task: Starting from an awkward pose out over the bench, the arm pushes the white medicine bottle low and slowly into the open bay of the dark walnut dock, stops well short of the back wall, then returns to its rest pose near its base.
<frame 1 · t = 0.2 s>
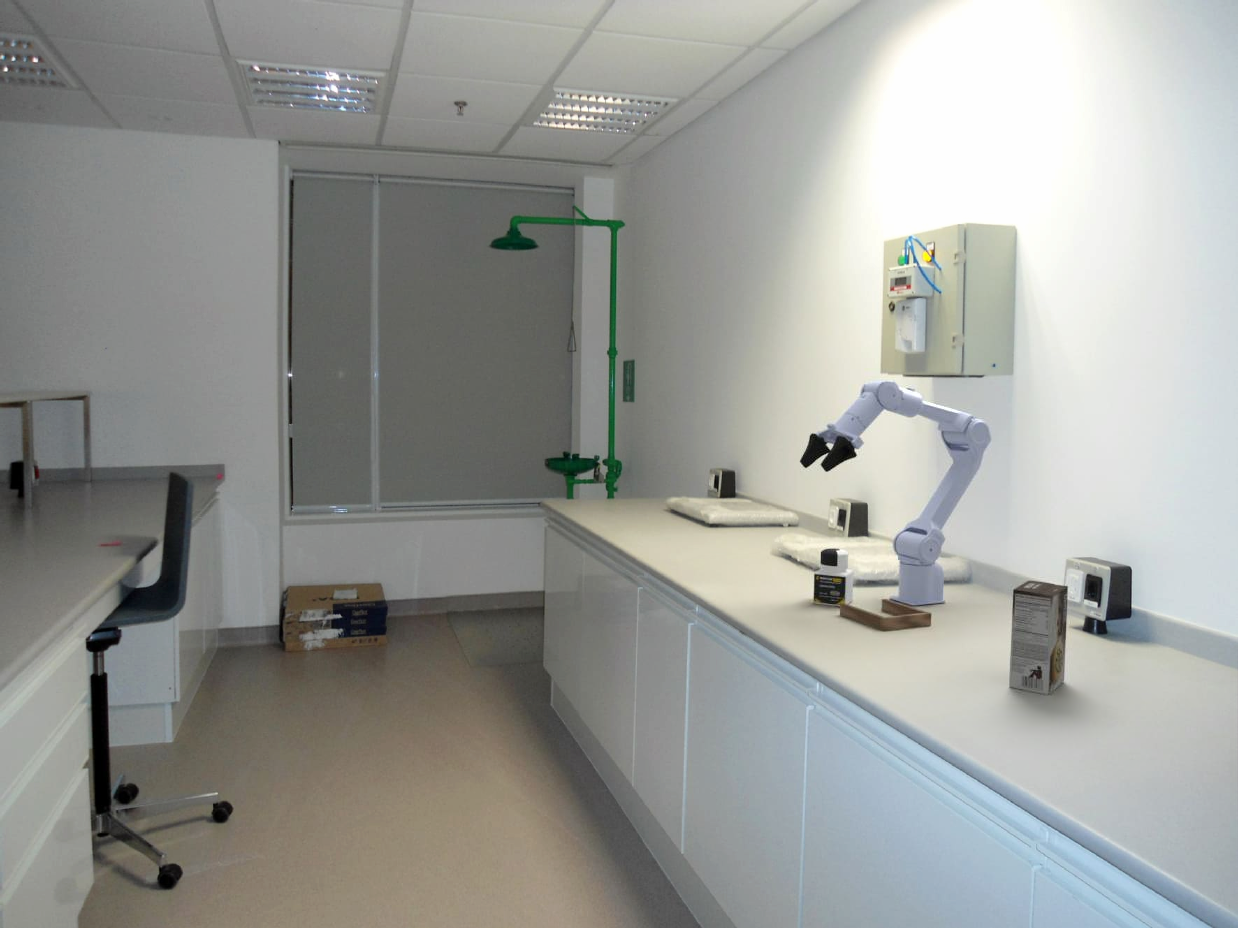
hand: (813, 466, 197), 31 cm above the lab bench, tool tilted 45°, fingers open, 7 cm apart
dock: (882, 619, 193), on the lab bench
medicine bottle: (833, 603, 208), on the lab bench
coffee box: (1036, 685, 151), on the lab bench
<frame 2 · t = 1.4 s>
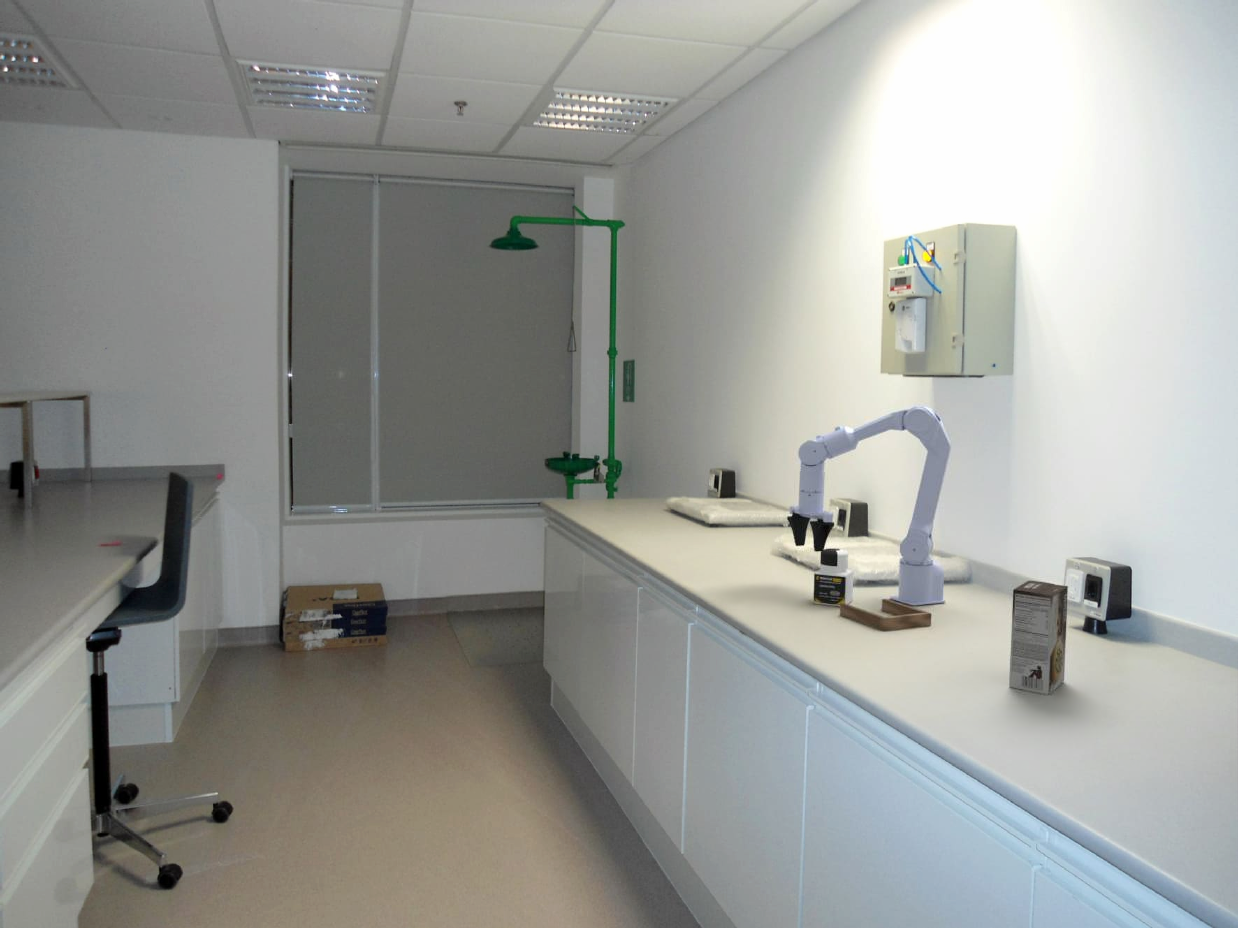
hand: (809, 548, 219), 10 cm above the lab bench, tool pointing down, fingers open, 7 cm apart
nothing on the lab bench moved.
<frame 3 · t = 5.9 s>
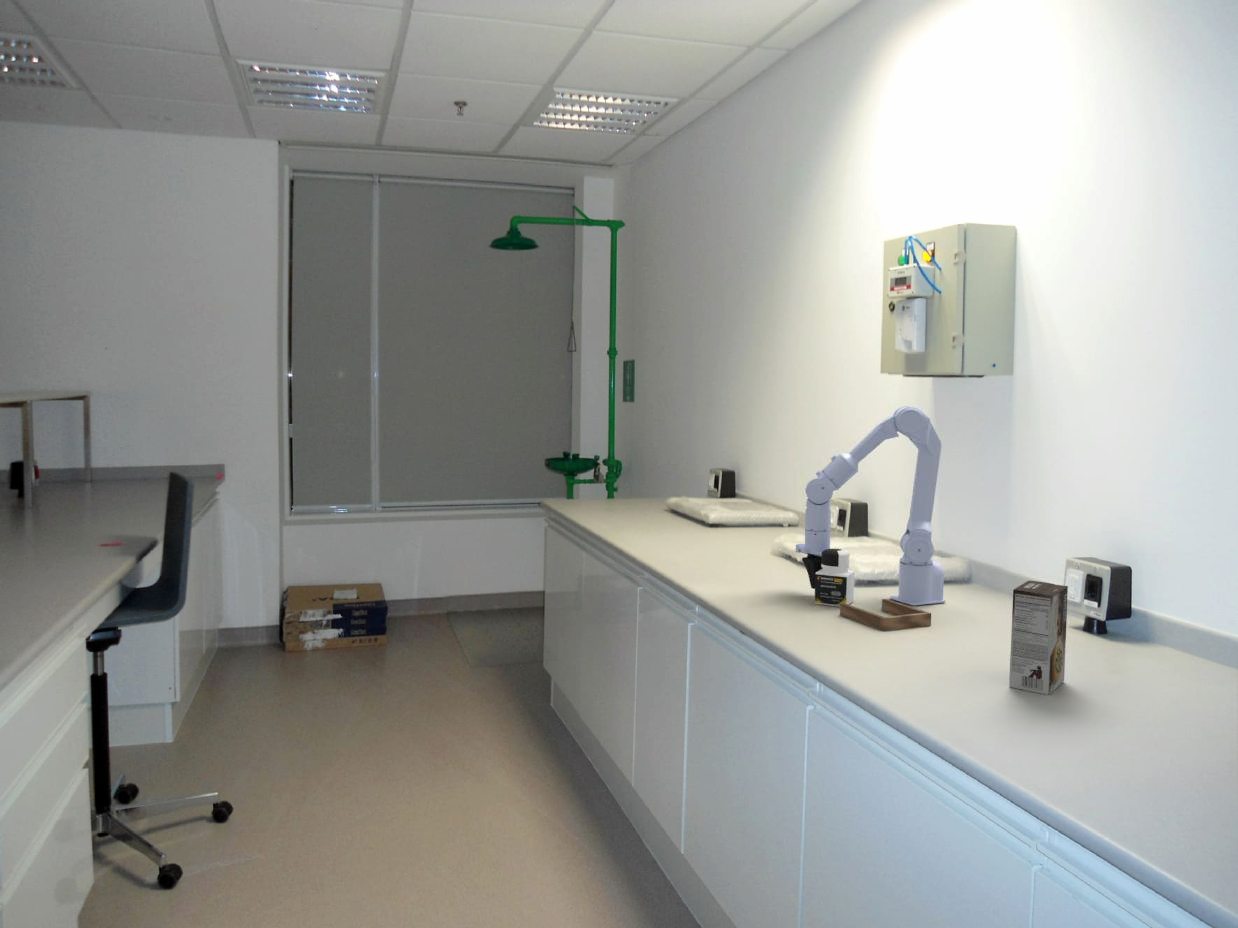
hand: (816, 588, 214), 2 cm above the lab bench, tool pointing down, fingers closed
medicine bottle: (834, 603, 208), on the lab bench, touching gripper
everything else where it was.
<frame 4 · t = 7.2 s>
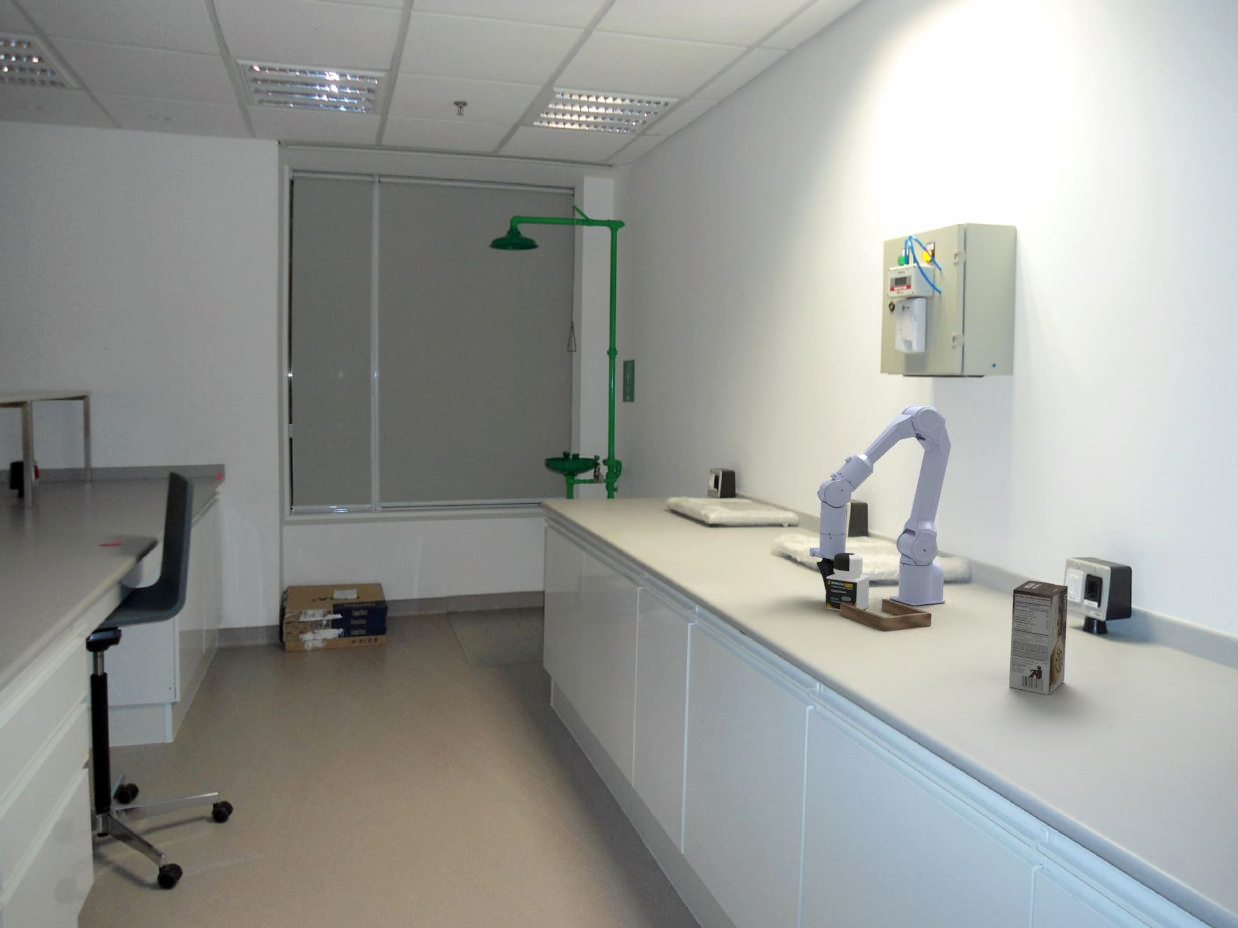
hand: (831, 593, 209), 2 cm above the lab bench, tool pointing down, fingers closed
medicine bottle: (846, 609, 203), on the lab bench, touching gripper
everything else where it was.
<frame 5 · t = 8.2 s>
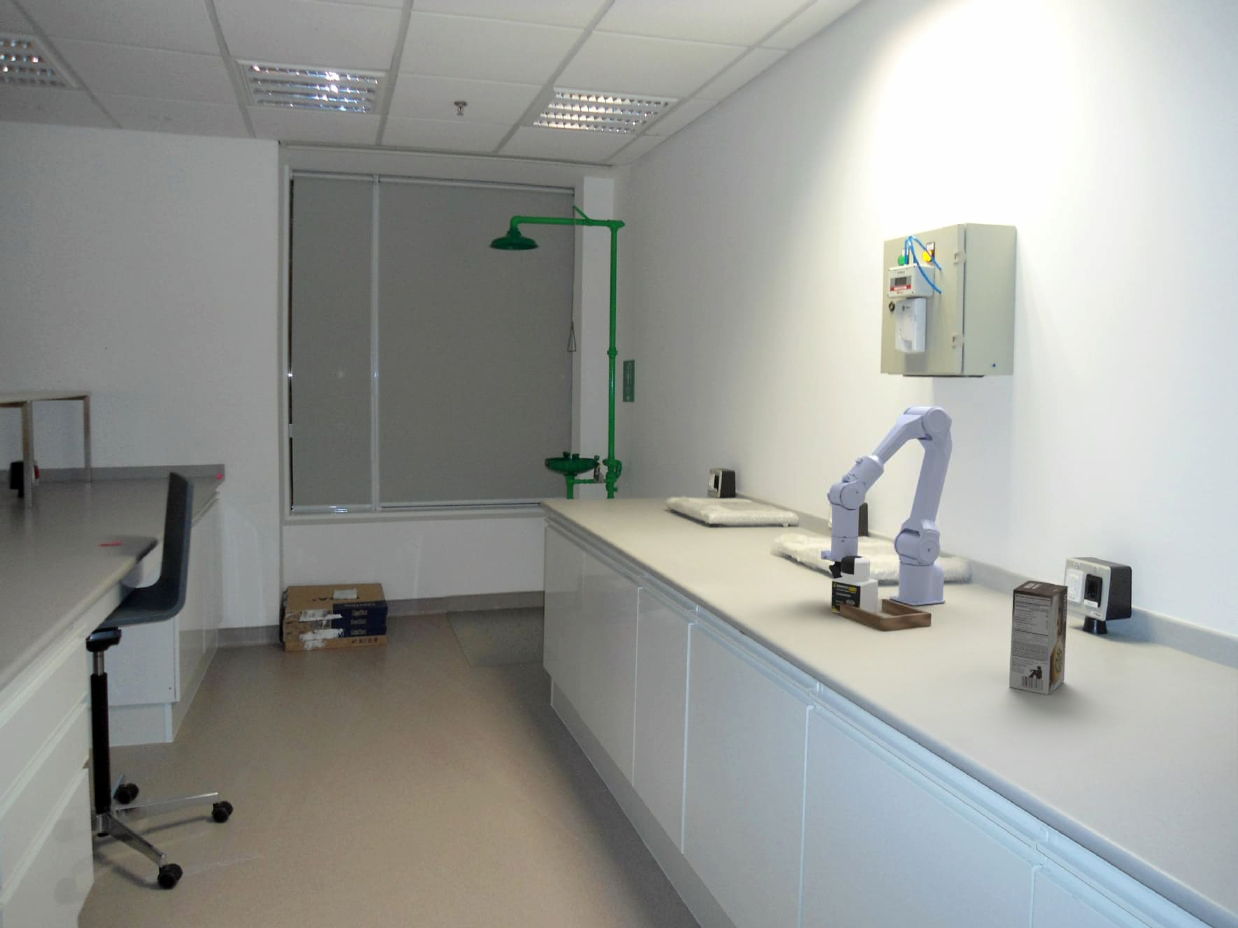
hand: (843, 596, 205), 2 cm above the lab bench, tool pointing down, fingers closed
medicine bottle: (854, 613, 199), on the lab bench, touching dock, gripper
everything else where it was.
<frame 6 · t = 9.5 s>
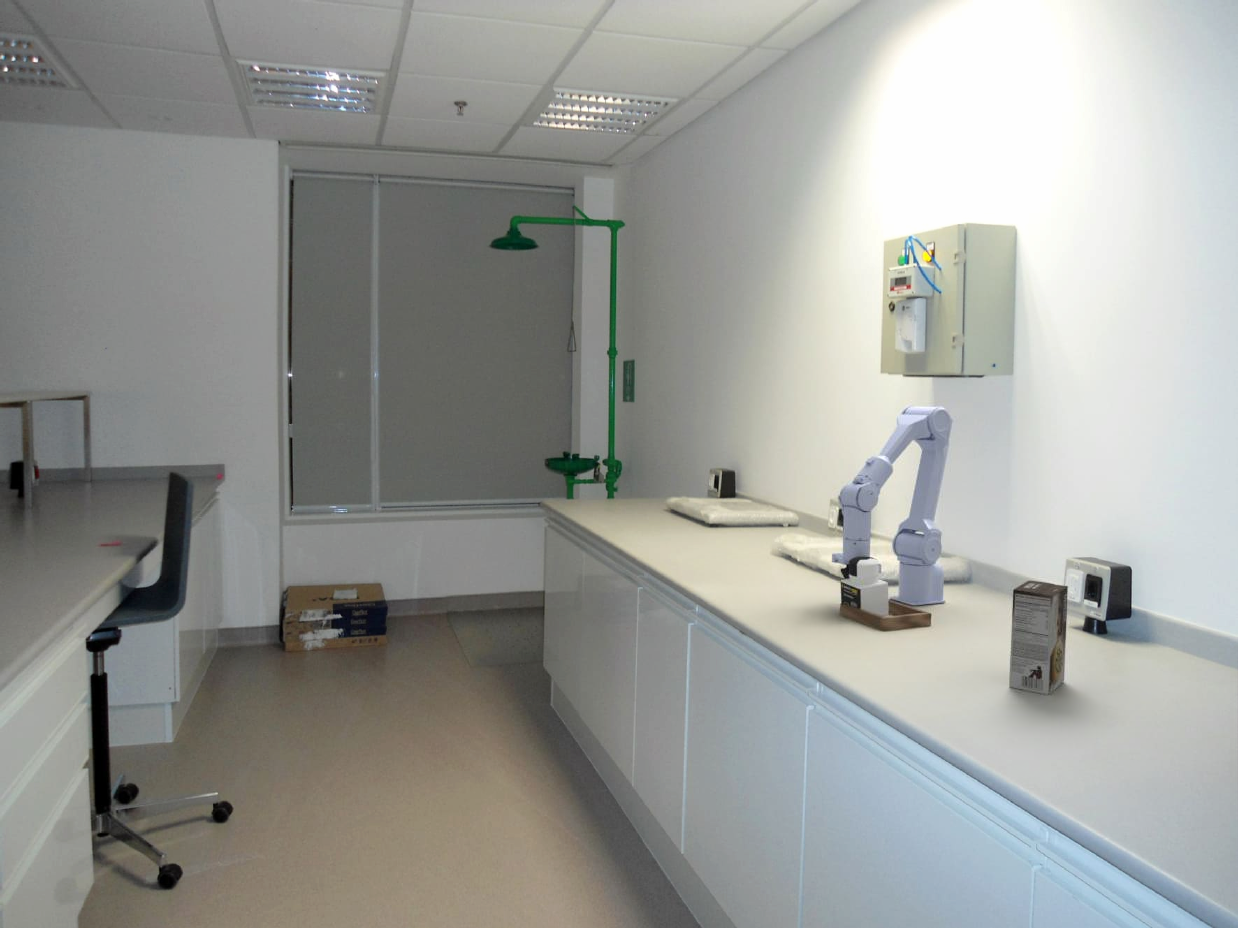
hand: (854, 600, 201), 2 cm above the lab bench, tool pointing down, fingers closed
medicine bottle: (864, 614, 196), on the lab bench, touching gripper
everything else where it was.
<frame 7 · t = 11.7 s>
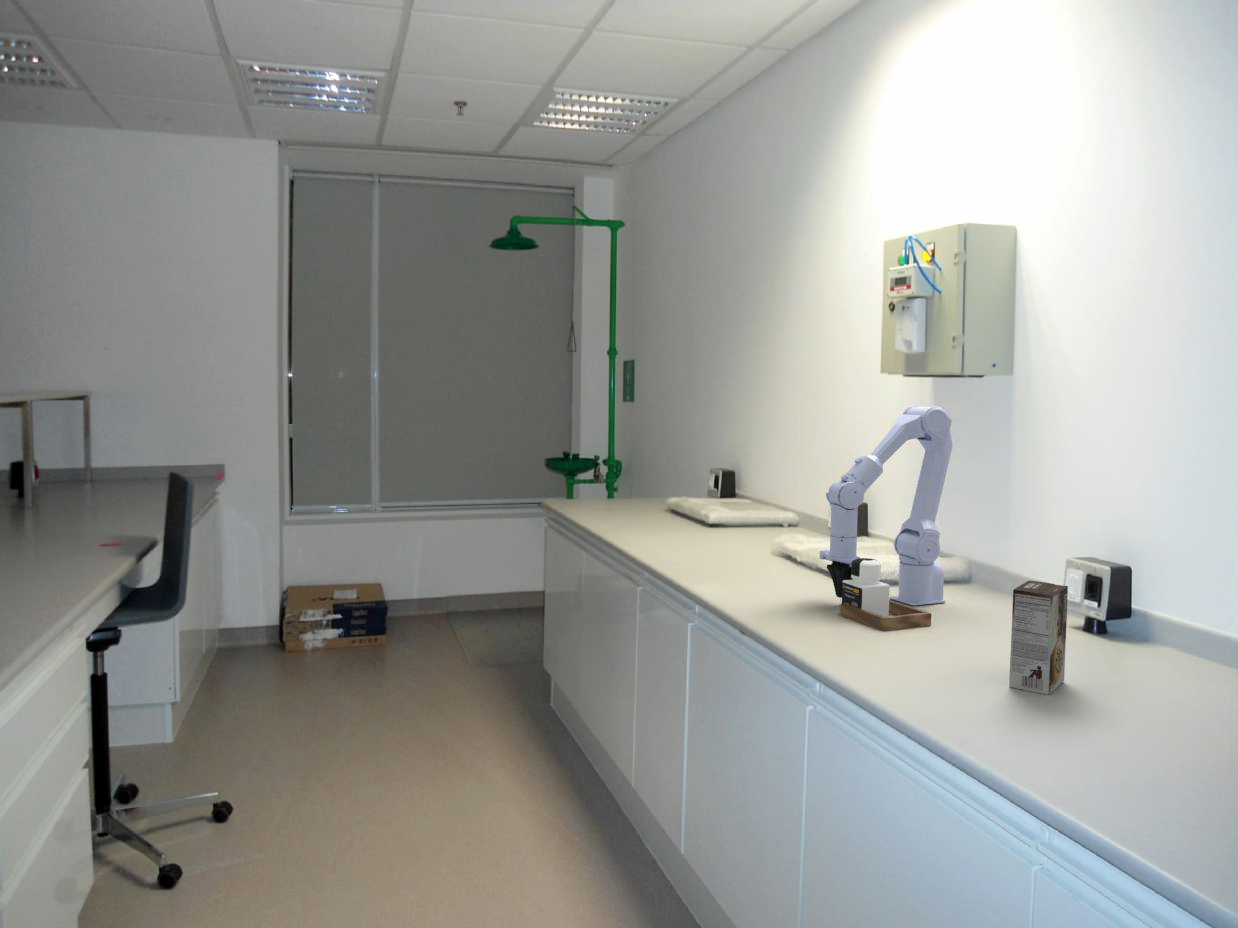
hand: (841, 596, 205), 2 cm above the lab bench, tool pointing down, fingers closed
medicine bottle: (864, 616, 196), on the lab bench
everything else where it was.
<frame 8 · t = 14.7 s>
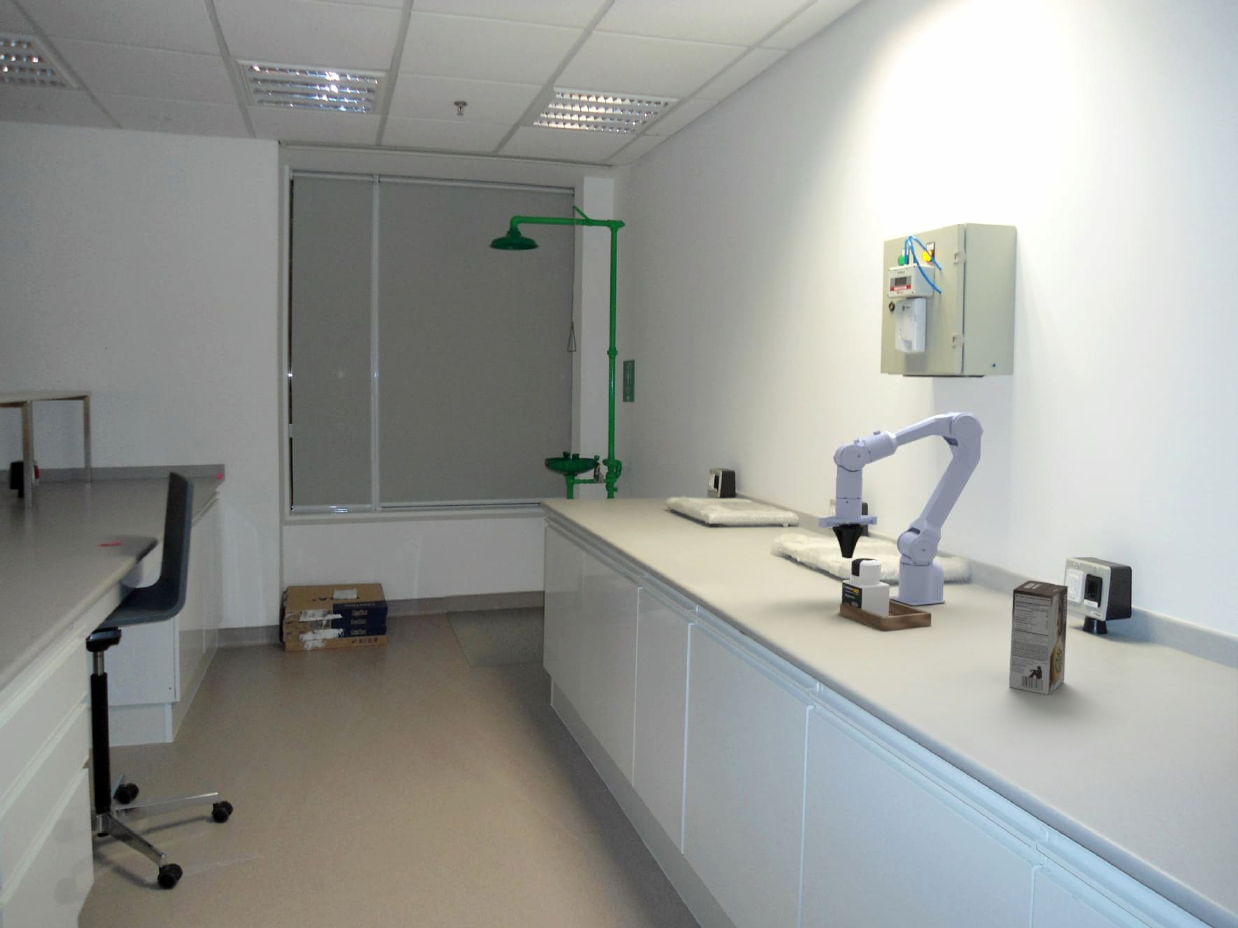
hand: (847, 557, 209), 10 cm above the lab bench, tool pointing down, fingers closed
nothing on the lab bench moved.
at the end: medicine bottle inside the target area on the dock (4.6 cm from its centre), point 0.0 cm above the dock's base; medicine bottle tilted 0°; medicine bottle inside the target area (4.4 cm from its centre), on the lab bench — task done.
